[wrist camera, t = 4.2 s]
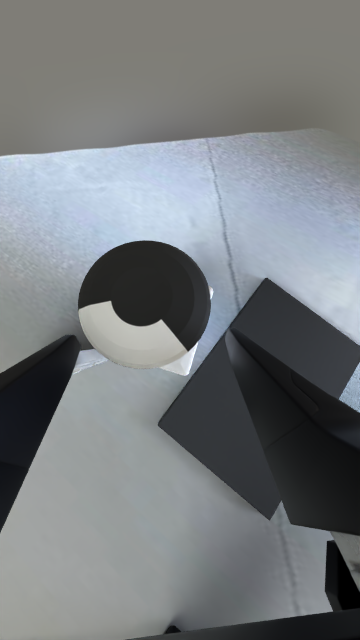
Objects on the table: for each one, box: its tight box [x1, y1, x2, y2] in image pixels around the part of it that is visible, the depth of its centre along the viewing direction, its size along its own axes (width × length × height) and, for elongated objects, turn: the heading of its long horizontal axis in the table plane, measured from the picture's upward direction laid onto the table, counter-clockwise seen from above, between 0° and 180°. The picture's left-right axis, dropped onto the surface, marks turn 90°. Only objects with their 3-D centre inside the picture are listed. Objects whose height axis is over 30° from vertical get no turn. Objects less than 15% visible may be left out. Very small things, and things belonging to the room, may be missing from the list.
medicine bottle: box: [78, 241, 213, 376], centre depth 12 cm, size 7×7×12 cm
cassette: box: [72, 349, 108, 375], centre depth 13 cm, size 12×2×8 cm, turn 109°
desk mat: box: [158, 278, 360, 520], centre depth 17 cm, size 22×15×1 cm
